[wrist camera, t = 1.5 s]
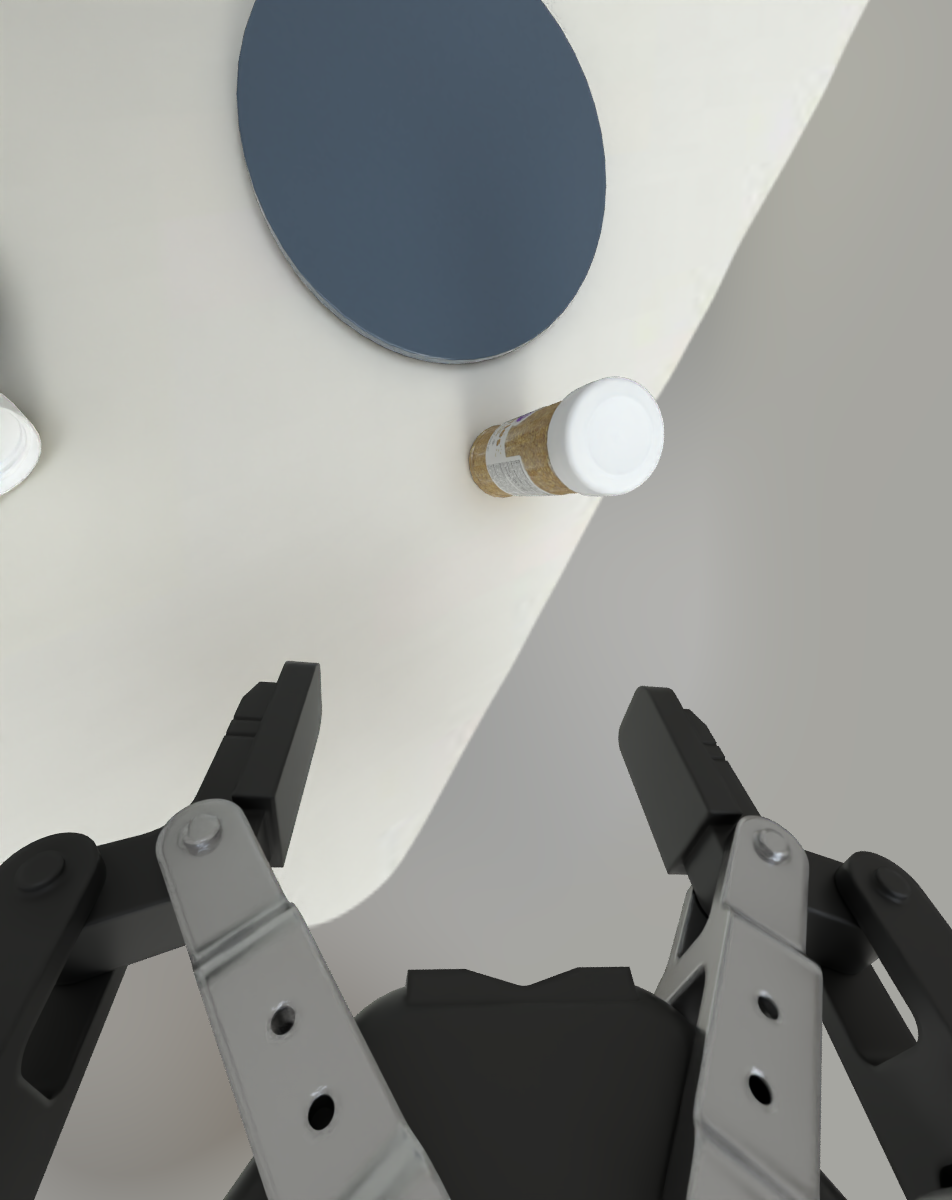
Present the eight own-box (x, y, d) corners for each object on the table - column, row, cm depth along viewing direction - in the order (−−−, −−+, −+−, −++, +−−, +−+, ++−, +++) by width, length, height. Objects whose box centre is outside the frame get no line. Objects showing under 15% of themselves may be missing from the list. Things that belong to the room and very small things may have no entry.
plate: (166, -42, 22) (156, -78, 21) (546, -64, 27) (559, -95, 25) (330, 405, 28) (330, 400, 26) (622, 325, 32) (636, 317, 31)
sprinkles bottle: (504, 411, 31) (631, 347, 18) (544, 468, 33) (687, 446, 20) (451, 457, 30) (546, 425, 18) (495, 513, 32) (610, 519, 19)
